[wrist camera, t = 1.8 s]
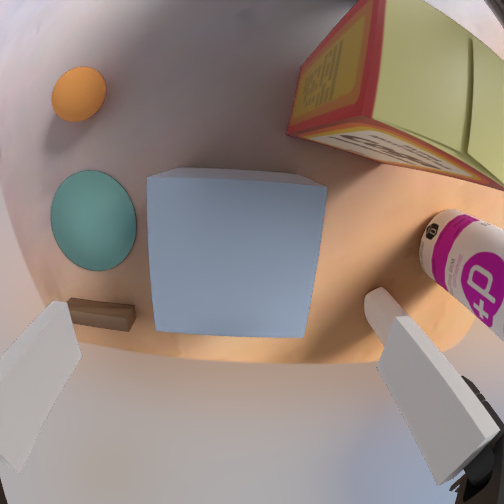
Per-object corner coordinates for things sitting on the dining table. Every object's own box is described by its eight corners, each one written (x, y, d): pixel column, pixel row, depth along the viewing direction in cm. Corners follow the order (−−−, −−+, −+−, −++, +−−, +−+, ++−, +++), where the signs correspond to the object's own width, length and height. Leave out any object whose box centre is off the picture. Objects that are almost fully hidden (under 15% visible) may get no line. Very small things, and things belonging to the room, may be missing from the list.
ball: (73, 77, 19) (45, 68, 15) (117, 69, 20) (93, 55, 15) (68, 126, 21) (38, 124, 16) (112, 120, 21) (86, 116, 17)
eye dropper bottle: (400, 284, 28) (462, 349, 17) (387, 327, 30) (436, 397, 19) (366, 285, 28) (424, 357, 17) (355, 329, 30) (398, 408, 19)
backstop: (71, 297, 27) (60, 308, 25) (134, 305, 28) (126, 318, 25) (74, 310, 28) (64, 321, 25) (136, 318, 28) (128, 331, 26)
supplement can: (409, 278, 28) (494, 360, 14) (422, 204, 25) (533, 256, 11) (458, 274, 29) (538, 339, 14) (471, 209, 26) (568, 254, 12)
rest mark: (48, 173, 22) (47, 173, 22) (135, 168, 23) (134, 168, 23) (58, 266, 26) (57, 267, 26) (139, 273, 26) (139, 274, 26)
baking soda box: (286, 134, 23) (366, 113, 8) (301, 66, 21) (384, -26, 6) (383, 163, 24) (519, 196, 9) (395, 100, 22) (529, 82, 7)
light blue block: (178, 167, 23) (146, 177, 15) (297, 173, 24) (327, 187, 16) (178, 276, 27) (155, 330, 19) (285, 282, 27) (303, 337, 19)
